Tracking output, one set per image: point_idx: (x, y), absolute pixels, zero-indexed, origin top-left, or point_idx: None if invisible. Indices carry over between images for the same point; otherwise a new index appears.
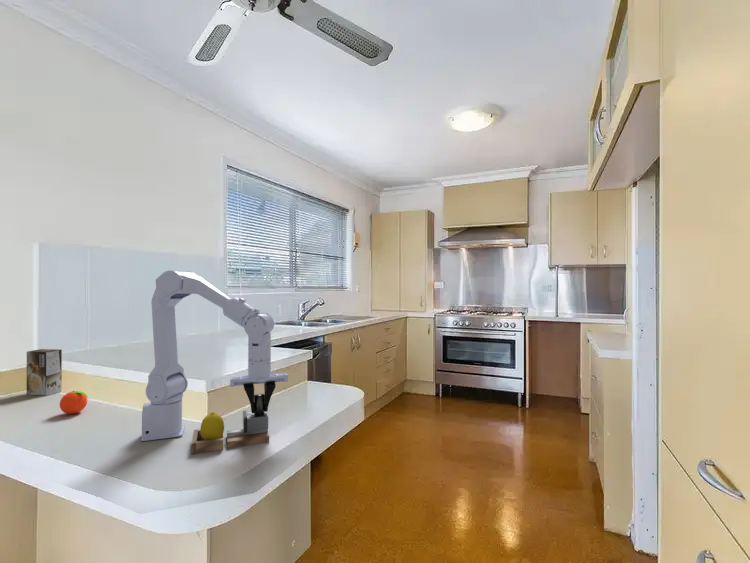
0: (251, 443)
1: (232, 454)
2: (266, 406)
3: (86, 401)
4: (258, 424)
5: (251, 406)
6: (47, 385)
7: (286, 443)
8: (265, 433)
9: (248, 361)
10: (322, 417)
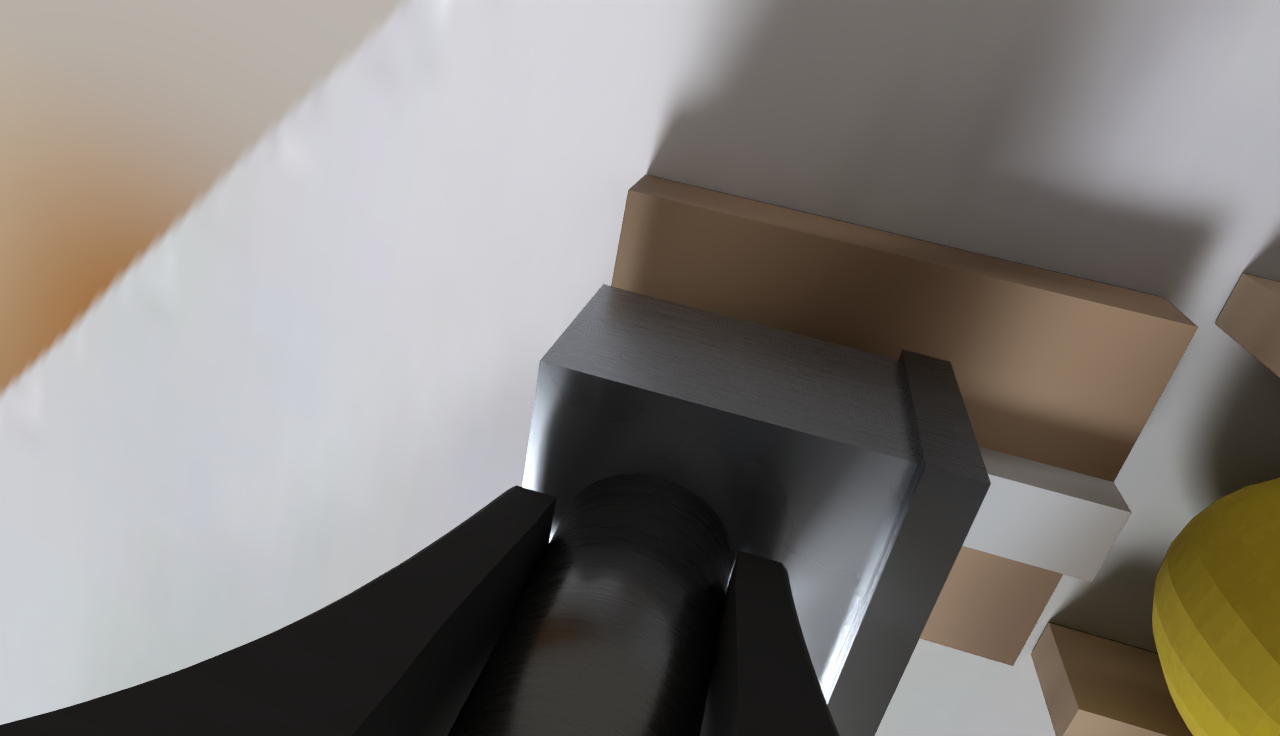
0: (862, 227)
1: (1222, 37)
2: (492, 531)
3: None
4: (726, 354)
5: (802, 644)
6: None
7: (470, 3)
8: None
9: None
10: (12, 490)
